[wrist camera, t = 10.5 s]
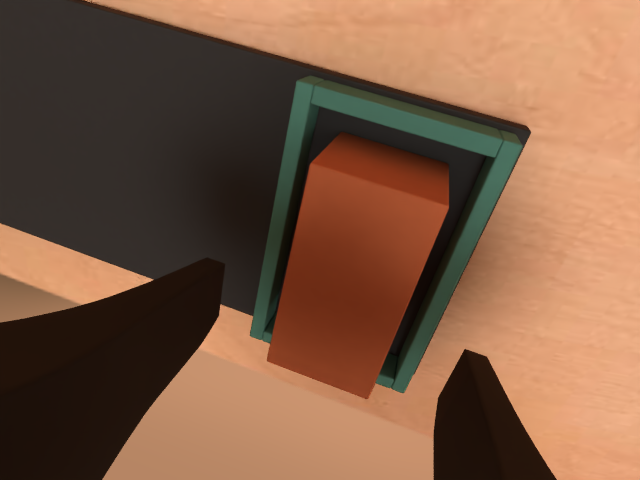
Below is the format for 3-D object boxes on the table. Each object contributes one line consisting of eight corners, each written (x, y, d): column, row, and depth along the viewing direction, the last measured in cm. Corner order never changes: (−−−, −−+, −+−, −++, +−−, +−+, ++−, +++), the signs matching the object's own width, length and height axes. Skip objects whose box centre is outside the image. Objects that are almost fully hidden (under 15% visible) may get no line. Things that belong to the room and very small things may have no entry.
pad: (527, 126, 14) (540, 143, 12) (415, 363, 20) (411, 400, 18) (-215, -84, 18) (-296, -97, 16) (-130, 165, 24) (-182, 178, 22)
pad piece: (449, 163, 15) (450, 206, 11) (382, 331, 19) (368, 400, 15) (341, 130, 15) (309, 163, 12) (298, 301, 19) (265, 361, 16)
